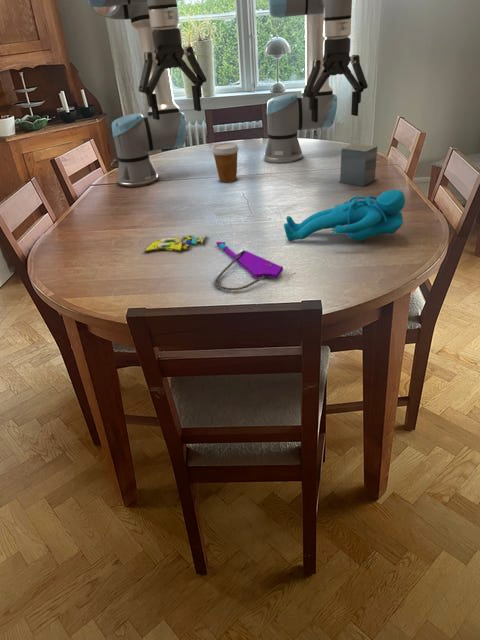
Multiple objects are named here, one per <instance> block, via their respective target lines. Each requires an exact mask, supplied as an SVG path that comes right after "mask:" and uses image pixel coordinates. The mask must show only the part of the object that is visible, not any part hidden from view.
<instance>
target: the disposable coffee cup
mask: <svg viewBox="0 0 480 640" xmlns="http://www.w3.org/2000/svg"><path fill="white" fill-rule="evenodd" d="M211 152H212V154H213V157H214V163H215V166H216V170H217V176H218V180H219V182H222V183H231V182H234V181H237V178H238V177H237V175H238V152H239V147H238V144H237V143H235V142H224V143H217V144H215V145H213V146H212V150H211Z"/></svg>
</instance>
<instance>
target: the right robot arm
mask: <svg viewBox="0 0 480 640" xmlns="http://www.w3.org/2000/svg"><path fill="white" fill-rule="evenodd" d="M267 2H268V3H267V4H268V14H269V17H270V18H279V19H282V18H288V17H297V16H298V17H299V16H304V20H305V21H304V24H305V25H304V31H305V33H304V34H305V35H304V38H305V39H304V41H305V44H304V45H305V87H304V88H303V90H302V91H301V97H298V95H297V94H296V93H287V94H285V93H284V94H281V95H277V96H274V97H272V98H270V99H268V101H267V103H266V115H267V116H266V117H267V142H266V147H265V150H264V154H263V155H264V157H263V158H264V161H265V162H269V163H273V164H274V163H275V164H285V163H292V162H296V161H299V160H301V159H302V158H303V151H302V148H301V144H300V142H299V139H298V131H304V130H317V129H318V130H322V129H326V128H331V127H332V126H333V125H334V123H335V120H336V115H337V108H338V96H337V94H335V93H334V91H333V88H332V87H331V86H330V77H331V76H333V77H334V76H337V75H343V76H344V77H345V78H346V80H347V81H348V83H349V84H350V85H351V87H352V88H353V90H354V91H352V92H351V111H350V115H351V116H354V117H358V116H359V104H361V103H362V93H363V92H364V90H366V89H368V87H369V86H368V83H367V80H366V77H365V73H364V71H363V68H362V66H361V60H360V54H352V55H350V52H351V42H352V41H351V40H352V39H351V38H350V37H349V36H351V35H352V34H351V33H352V12H353V11H352V8H353V0H268V1H267ZM350 64H351V66H352V69H353V71H354V74H355V75H354V74H353V73H352V70H351V69H350V67H349V65H350Z"/></svg>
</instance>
